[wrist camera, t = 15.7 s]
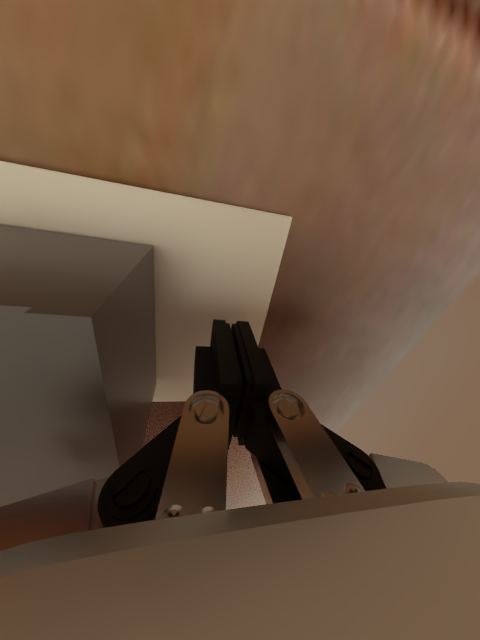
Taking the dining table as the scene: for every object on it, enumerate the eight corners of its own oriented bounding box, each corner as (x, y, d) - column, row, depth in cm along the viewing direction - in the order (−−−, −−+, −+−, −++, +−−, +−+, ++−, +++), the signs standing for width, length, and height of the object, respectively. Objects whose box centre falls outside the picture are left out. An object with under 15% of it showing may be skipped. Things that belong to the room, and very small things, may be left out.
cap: (156, 383, 13) (127, 510, 8) (37, 383, 11) (-94, 536, 6) (153, 245, 9) (91, 317, 4) (-27, 220, 8) (-492, 279, 2)
